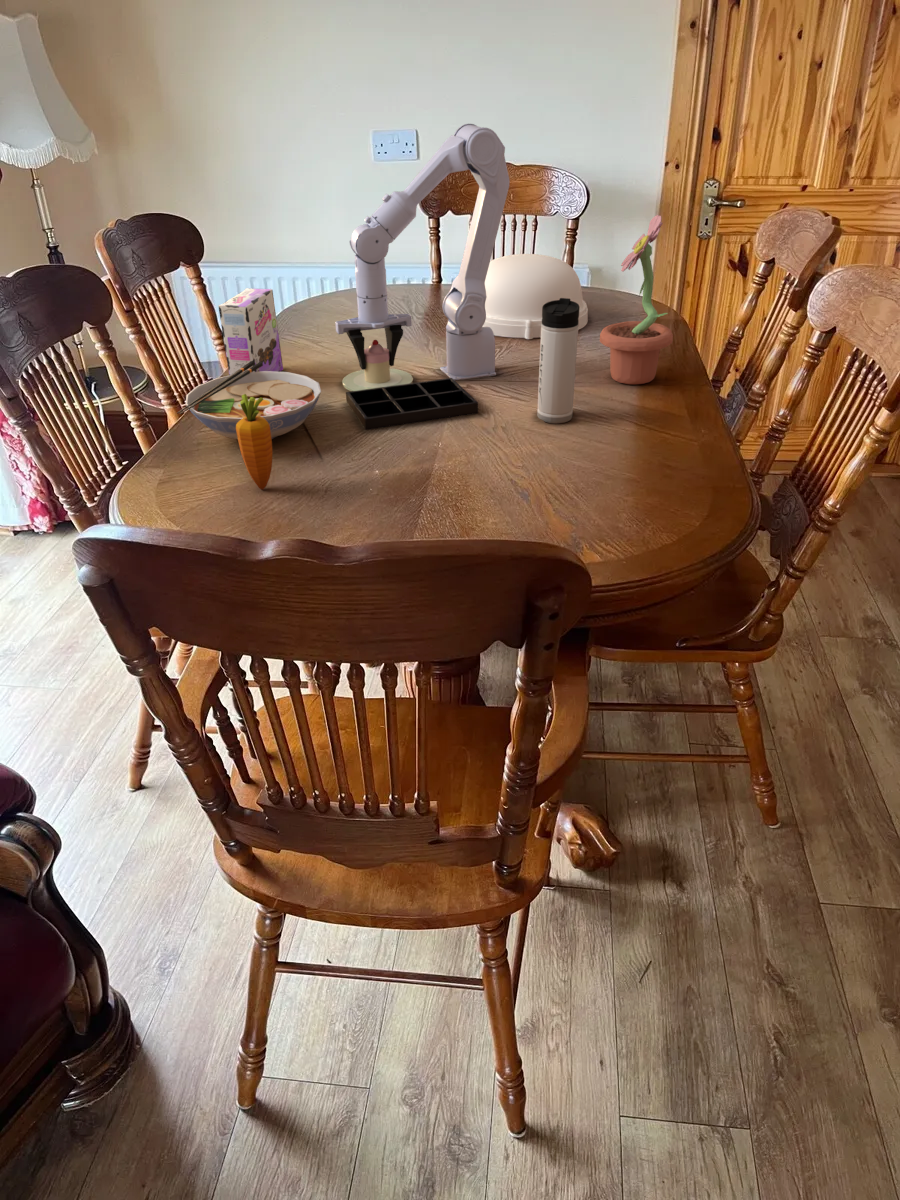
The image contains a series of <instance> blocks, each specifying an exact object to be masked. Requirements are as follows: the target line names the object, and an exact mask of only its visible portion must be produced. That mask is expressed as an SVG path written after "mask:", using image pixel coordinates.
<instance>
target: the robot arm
mask: <svg viewBox="0 0 900 1200" xmlns="http://www.w3.org/2000/svg"><path fill="white" fill-rule="evenodd" d="M505 152H506V147H505V145H504V143H503V141H502V140H501V139H500V137H499V136H498V134H497V133H496V132H495V131H494V130H493V129H491V128H490V127H484V126H483V127H482V126H478V125H477V124H475V123H464V124H462V125H460V126H459V127H458V128H457V129H455V132H454V134H451V135H450V136H448V137H447V138H446V139H445V140H444V142H442V144H441V145H440V146H439V148H438V149H437V150H436V151H435V153H434V154H433V155H432V156H431V158H430V159H429V160H428V161H427V162H426V163H425V164H424V166H423V167H422V169H421V170H419V172H418V173H417V174H416V175H415V177H414V178H413V179H412V181H411V182H410V183H409V184H408V185H407V186H406V188H405V189H404V190H400V191H397V190H394V191H392V192H391V194H388V193H385V194H384V195H383V196H382V198H381V200H382V203H381V204H380V205H379V206H378V207H377V209H376V210H375V211H374V212H373V213H372V214H371V215H370V216H368V215H367V216H365V218H364V219H363V221H364V222H365V223H364V224H360V225H358V226H357V227H355V228H354V229H353V231H352V233H351V237H350V240H349V246H350V249H351V250H352V252H353V253H354V266H355V267H354V268H355V269H354V277H355V291H356V302H357V316H356V317H352V318H348V319H343V320H336V321H335V322H334V324H335V332H336V333H337V334H338V335H343V334H346V335H347V337H348V338H349V340H350V342H351V345H352V346H353V349H354V351H355V354H356V358H357V360H358V365H359V368H360V370H364V369H366V363H365V355H364V350H365V337H364V335H363V332H362V331H370V330H380V329H384V332H385V340H386V341H385V342H386V348H387V349H388V350H389V355H390V359H389V364H390V367H394V365H395V359H396V354H397V350H398V348H399V345H400V342H401V340H402V338H403V336H404V329H403V328H402V327H412V326H413V324H412V323H413V322H412V315H411V314H409V313H389V305H388V304H389V301H388V299H389V298H388V285H387V284H388V282H387V269H386V261H385V259H386V257H387V255H388V252H389V249H390V248H389V247H390V246H389V245H390V244H393V242H394V241H395V240H396V239H397V238H398V237H399V236H400V235H401V233H402V232H404V230H405V229H406V228H407V227H408V226H409V225H410V224H411V223H412V222H413V221H414V220H415V219H416V217H417V207H418V205H420V203H421V202H422V201H423V200H424V199H425V198H426V197H427V196H428V195H429V194H430V193H431V192H432V191H433V190H434V189H435V188H436V187H438V185H439V184H440V183H441V182H442V181H443V180H444V179H445V178H447V176H448V175H450V174H452V173H457V172H464V171H468V170H469V171H470V173H471V175H472V176H473V178H474V180H475V182H476V184H477V185H478V192H477V196H476V200H475V205H474V208H473V213H472V217H471V221H470V226H469V229H468V232H467V233H468V234H467V238H466V241H465V247H464V250H463V253H462V259H461V262H460V267H459V271H458V274H457V276H456V277H455V278H454V279H453V280H452V283H451V288H450V290H449V291H448V293H447V294H446V295H445V297H444V299H443V301H442V311H443V314H444V316H445V317H446V318H447V324H446V326H445V342H446V343H445V346H446V348H445V352H446V353H445V354H446V365H444V366H440V367H439V369H440V371H441V372H442V373H444V374H445V375H446V376H447V377H448V378H452V379H454V380H455V381H461V380H466V379H476V378H482V377H489V376H490V377H495V376H497V372H496V338H495V335H494V333H493V331H492V329H491V328H490V327H482V326H483V325H484V323H485V320H486V310H485V301H486V297H487V296H486V289H485V279H486V275H487V271H488V267H489V263H490V261H492V255H493V252H494V247H495V243H496V240H497V236H498V231H499V228H500V224H501V220H502V216H503V212H504V209H505V204H506V200H507V197H508V193H509V188H510V183H511V182H510V181H511V180H510V176H509V171H508V166H507V161H506V157H505Z"/></svg>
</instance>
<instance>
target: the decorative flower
mask: <svg viewBox="0 0 900 1200" xmlns="http://www.w3.org/2000/svg"><path fill="white" fill-rule="evenodd" d="M662 226H663V221H662V215H659V214H657V215H654V216H653V217H652V218H651V219H650V220H649V225H648V230H647V233H646V234H645V233H642V234H641V236H640V237H639V238H638V239H637V240H636V241H635V243H634V244H633V246H632V247H631V250H633V251H632V252H630V253H629V254H627V256H626V257H625V259H624V260H623V261H622V263H621V265H620V266H621V269H620V270H621V272H625V271H626V270H627V269H628V270H629V271H630V270H631V269H632V268H634V267H635V266H636V265H637V263H638V260H640V263H641V267H642V268H641V269H642V274H643V281H642V284H641V286H640V290H639V296H640V295H641V294H642V299H641V305H642V308H643V310H644V312H645V314H646V315H647V316H646V317H645V318H644V319H643V320H629V321H622V322H616V323H612V324H609V325H606V326H604V327H603V328H602V330H601V332H600V334H599V342H600V344H602V345H603V346H604V347H607V348H609V349H610V350H609V352H610V353H609V354H610V355H609V356H610V357H609V358H610V359H609V360H610V361H609V363H610V364H609V365H610V368H609V369H610V371H609V372H610V376H611V378H612V379H613V380H614V381H615V382H617V383H620V384H624V385H644V384H647V383H650V382H652V381H653V380H654V379H655V378H656V374H657V369H658V364H659V357H660V353H661V349H665V348H668V347H669V346H670V345H671V344H673V343H674V342H673V341H674V334H673V332H672V329H670V328H669V327H668V326H666V325H663V324H661V323H658V322H657V323H656V321H657V319H658V318H659V317H663V316H665V315H668V314H669V313H668V312H663V313H658V311H657V309H656V308H655V307H654V305H653V303H652V297H653V289H654V288H653V287H654V270H653V265H652V260H651V256H652V255H653V247H652V245H650V244H651V243H653V242H654V241H655V240H657V238H658V236H659V234H660V232H661V227H662Z"/></svg>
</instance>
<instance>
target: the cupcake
mask: <svg viewBox="0 0 900 1200" xmlns="http://www.w3.org/2000/svg"><path fill="white" fill-rule="evenodd" d="M364 355H365V363H366V369H364V372H365V381H367V382H369V383H384V382H387V381H389V380H390V368H391V366H390V364H389V359H390V355H389V350H388V349H387V347H383V346H382V344H380V343H379V341H378V340H377V339H373V340H372V342H371V344H369V346H368V348H364Z"/></svg>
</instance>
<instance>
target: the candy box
mask: <svg viewBox="0 0 900 1200" xmlns="http://www.w3.org/2000/svg"><path fill="white" fill-rule="evenodd" d="M274 297H275V296H274V290H273V289H272V288H245V289H244V290H243V291H241V292H239V293H238V294H236V295H235V296H233V297H231V298H230V299H228V300H226V301H224V302H222V303H221V304H218V305H217V307H218V313H219V320H220V326H221V332H222V338H223V344H224V351H225V356H226V357H225V358H226V363H227V369H228V376H229V375H232V374H233V373H235V372H236V371H238V370H239V369H241V368H242V367H243V366H245V365H246V364H248V363H249V362H251V361H254V364H255V365H256V364H257V363H259V362H262V363H263V366H262V367H260V368H258V369H256V370H255V371H253V372H260V371H273V372H283V370H284V365H283V357H282V350H281V343H280V334H279V326H278V320H277V313H276V305H275V304H276V303H275V298H274ZM253 366H254V365H253ZM253 366H252V367H253ZM250 368H251V367H250ZM250 368H249V369H250ZM247 370H248V369H247ZM245 371H246V370H245ZM245 371H243V372H245ZM243 372H242V373H243Z"/></svg>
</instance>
